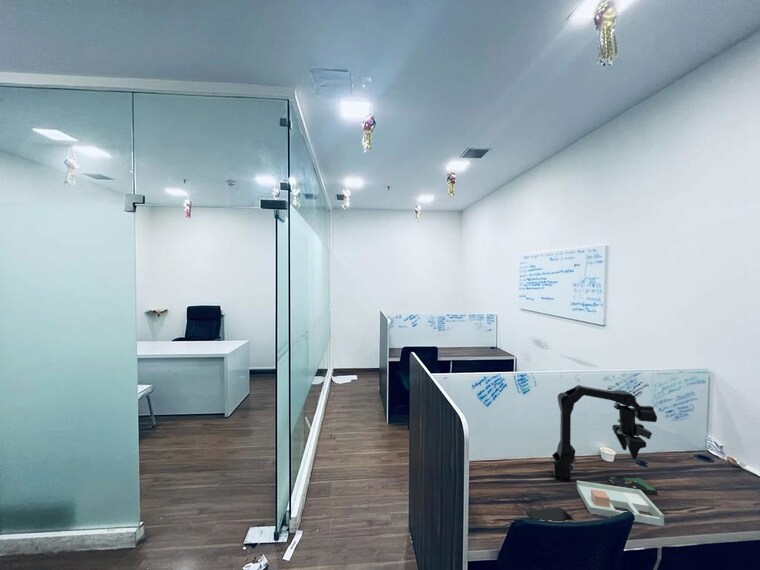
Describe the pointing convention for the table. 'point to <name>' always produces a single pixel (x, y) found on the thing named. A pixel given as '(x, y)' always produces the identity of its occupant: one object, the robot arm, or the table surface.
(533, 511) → the smartphone
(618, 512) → the box
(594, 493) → the terracotta block
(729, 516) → the table surface
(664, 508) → the table surface
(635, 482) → the disk drive
